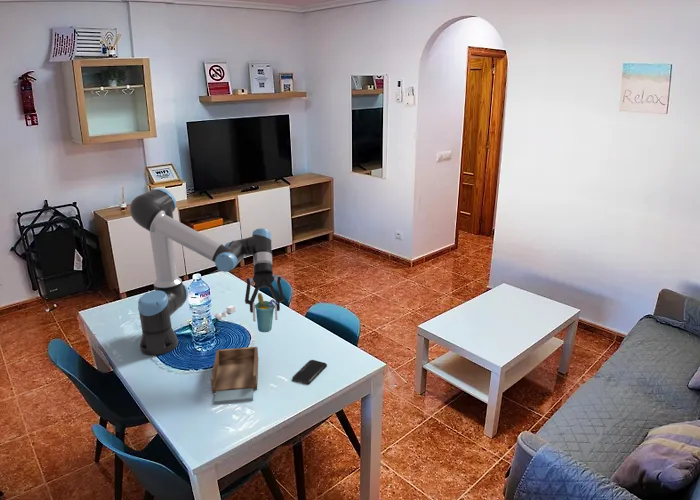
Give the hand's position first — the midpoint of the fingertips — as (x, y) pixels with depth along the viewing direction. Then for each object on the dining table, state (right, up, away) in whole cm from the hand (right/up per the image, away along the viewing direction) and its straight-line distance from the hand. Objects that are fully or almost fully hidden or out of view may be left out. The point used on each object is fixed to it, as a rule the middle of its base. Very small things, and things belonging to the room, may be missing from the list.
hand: (265, 319), depth 196 cm
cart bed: (-11, -22, -1) cm, 24 cm away
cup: (-1, -5, +6) cm, 8 cm away
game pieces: (-28, -5, +49) cm, 56 cm away
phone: (+17, -21, +2) cm, 27 cm away
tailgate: (-9, -25, -11) cm, 29 cm away
